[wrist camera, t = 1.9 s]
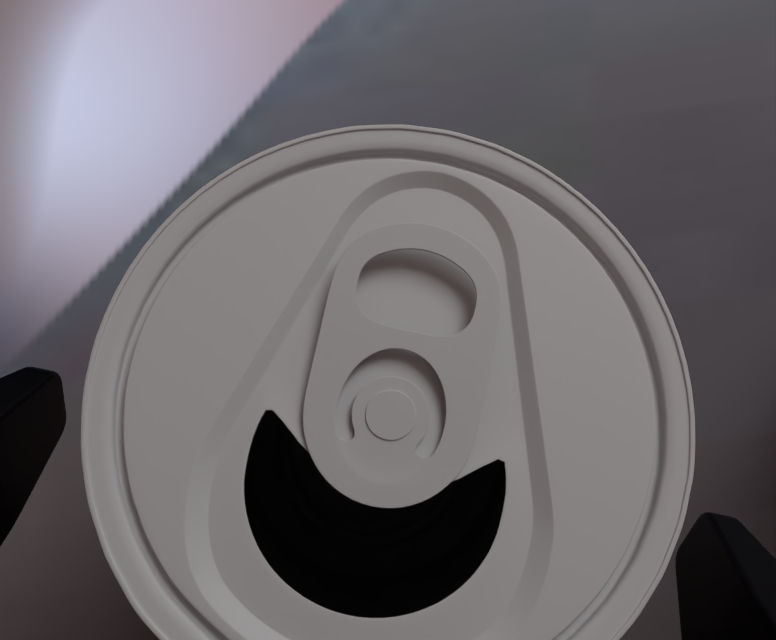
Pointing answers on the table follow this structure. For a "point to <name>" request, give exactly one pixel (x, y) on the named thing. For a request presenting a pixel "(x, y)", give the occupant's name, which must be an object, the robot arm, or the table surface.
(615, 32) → the table surface
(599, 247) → the beverage can
